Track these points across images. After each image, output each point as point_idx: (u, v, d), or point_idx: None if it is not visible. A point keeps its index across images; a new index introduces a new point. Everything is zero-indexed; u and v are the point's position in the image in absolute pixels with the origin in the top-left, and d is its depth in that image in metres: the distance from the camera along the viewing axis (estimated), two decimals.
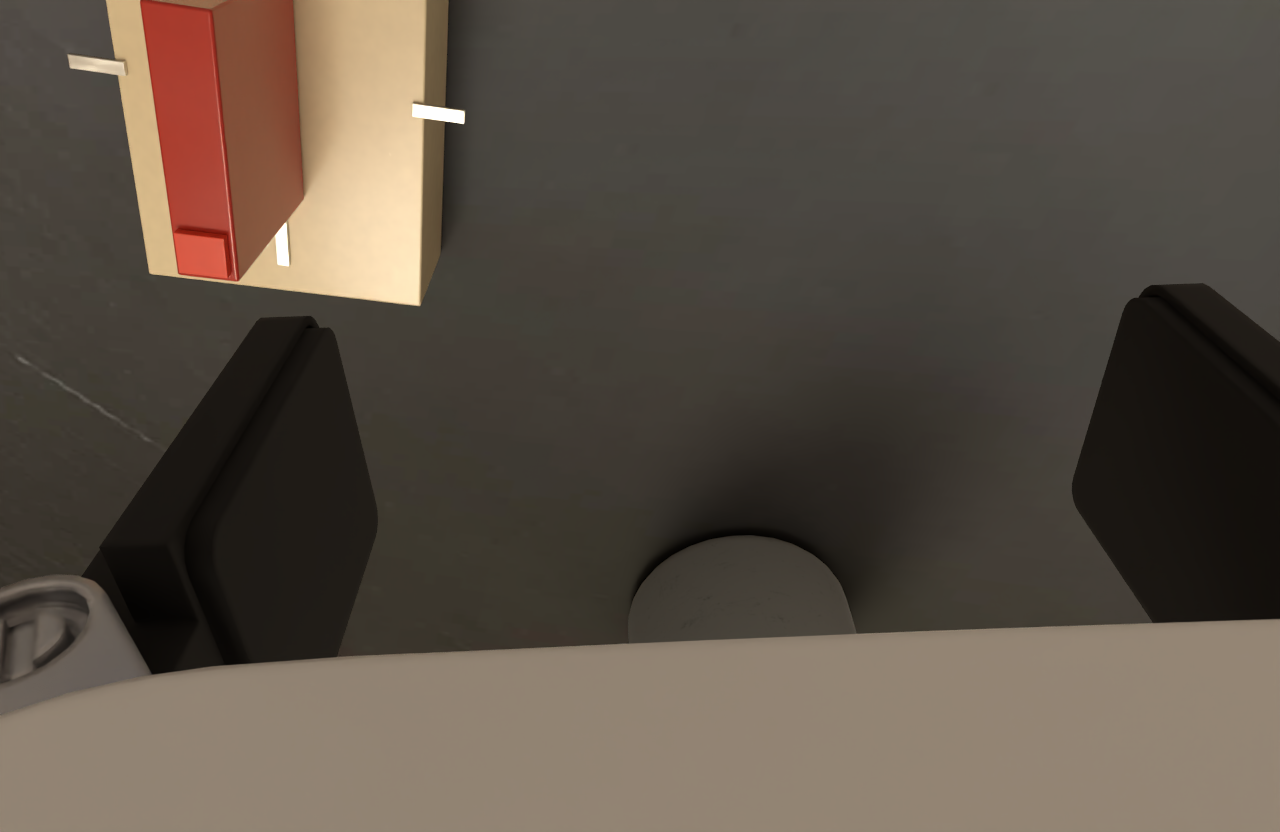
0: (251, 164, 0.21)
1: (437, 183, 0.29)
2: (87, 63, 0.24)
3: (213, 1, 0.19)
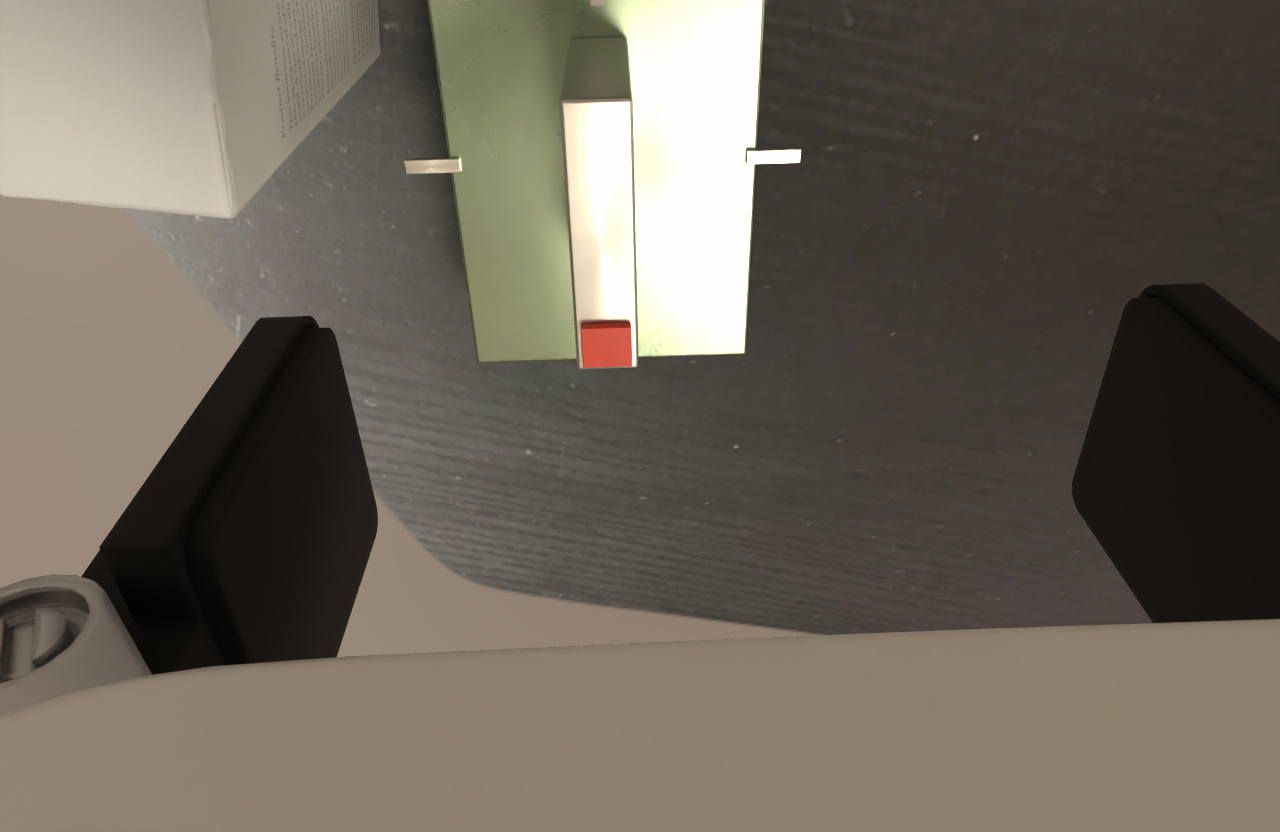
0: None
1: None
2: None
3: None
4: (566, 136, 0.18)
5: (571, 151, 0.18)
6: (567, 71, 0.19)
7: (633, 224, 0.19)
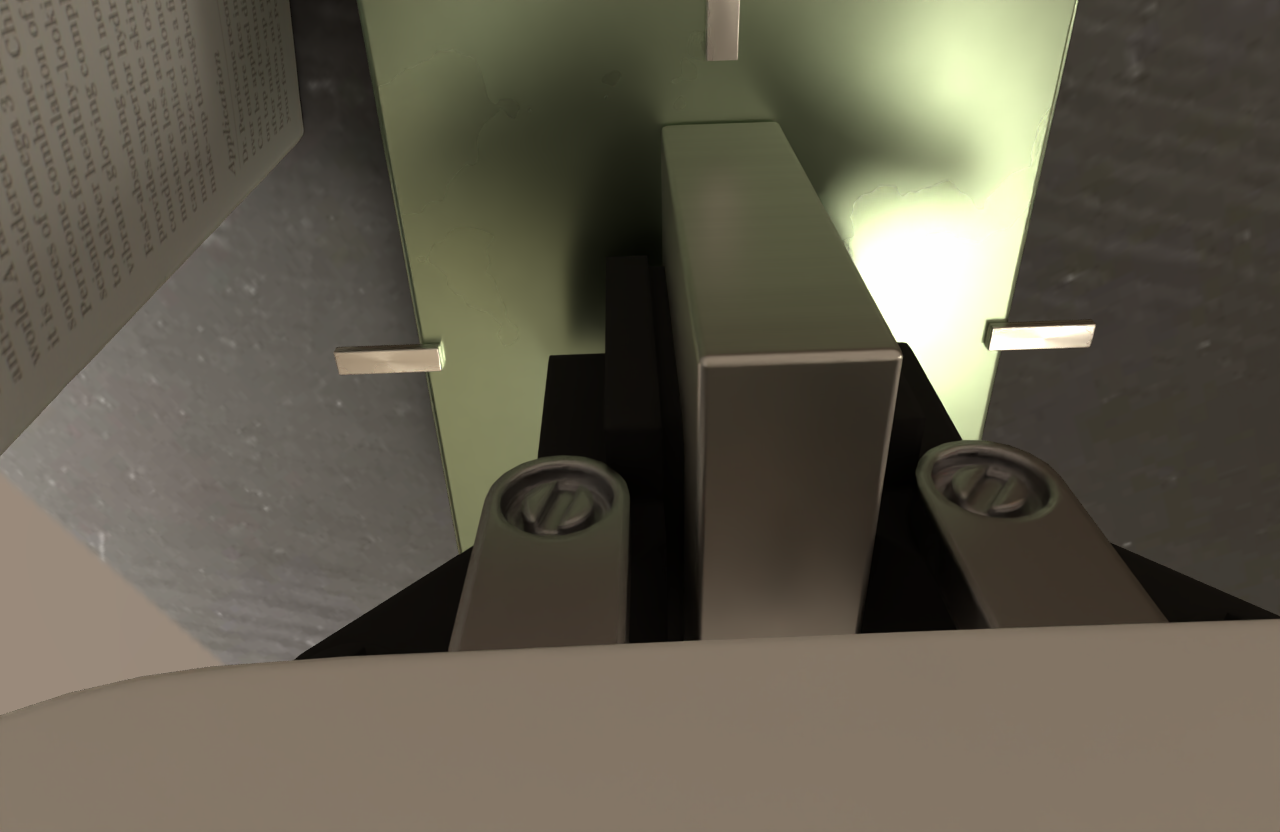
0: None
1: None
2: None
3: None
4: (711, 444, 0.06)
5: (721, 476, 0.07)
6: (686, 232, 0.08)
7: (859, 619, 0.07)
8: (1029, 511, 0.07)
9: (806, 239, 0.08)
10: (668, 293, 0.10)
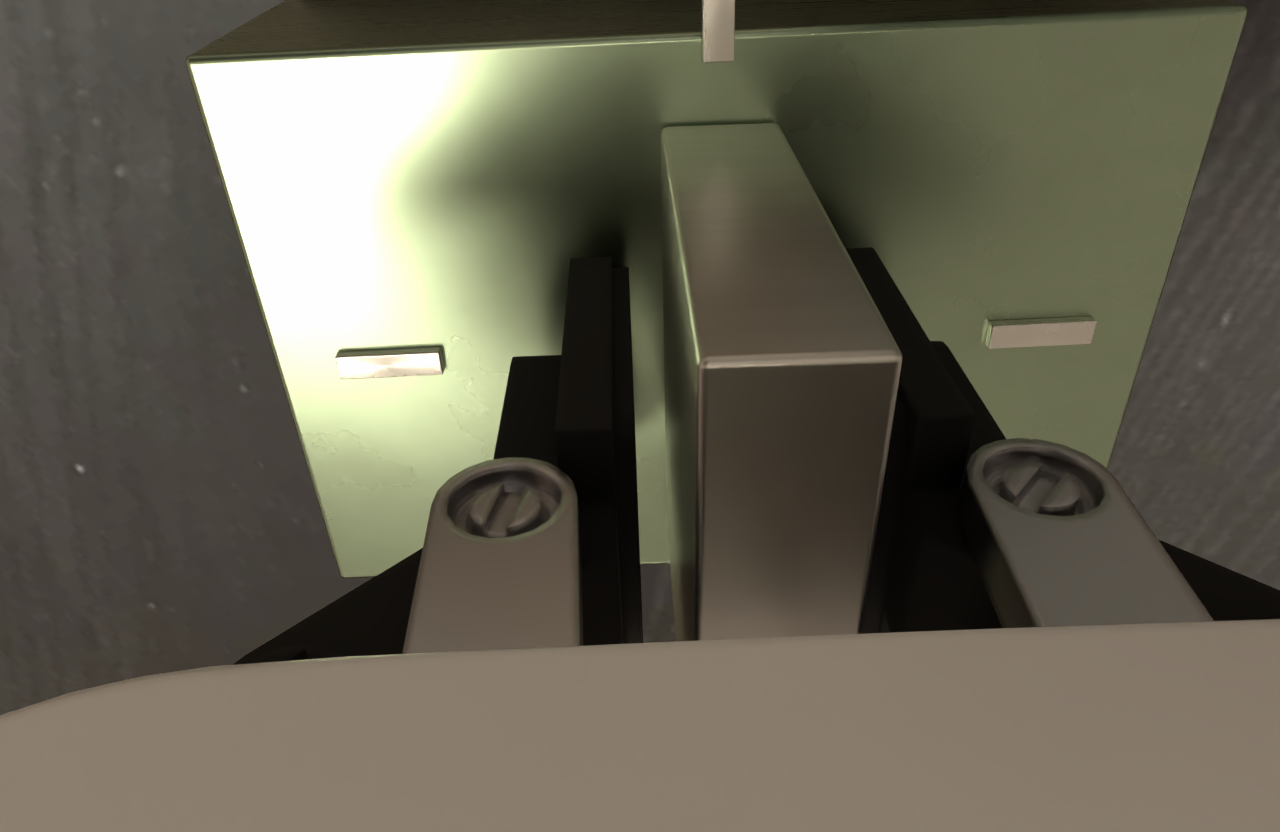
0: None
1: None
2: None
3: None
4: (710, 445, 0.06)
5: (721, 476, 0.07)
6: (686, 233, 0.08)
7: (858, 620, 0.07)
8: (1081, 511, 0.07)
9: (805, 240, 0.08)
10: (668, 294, 0.10)
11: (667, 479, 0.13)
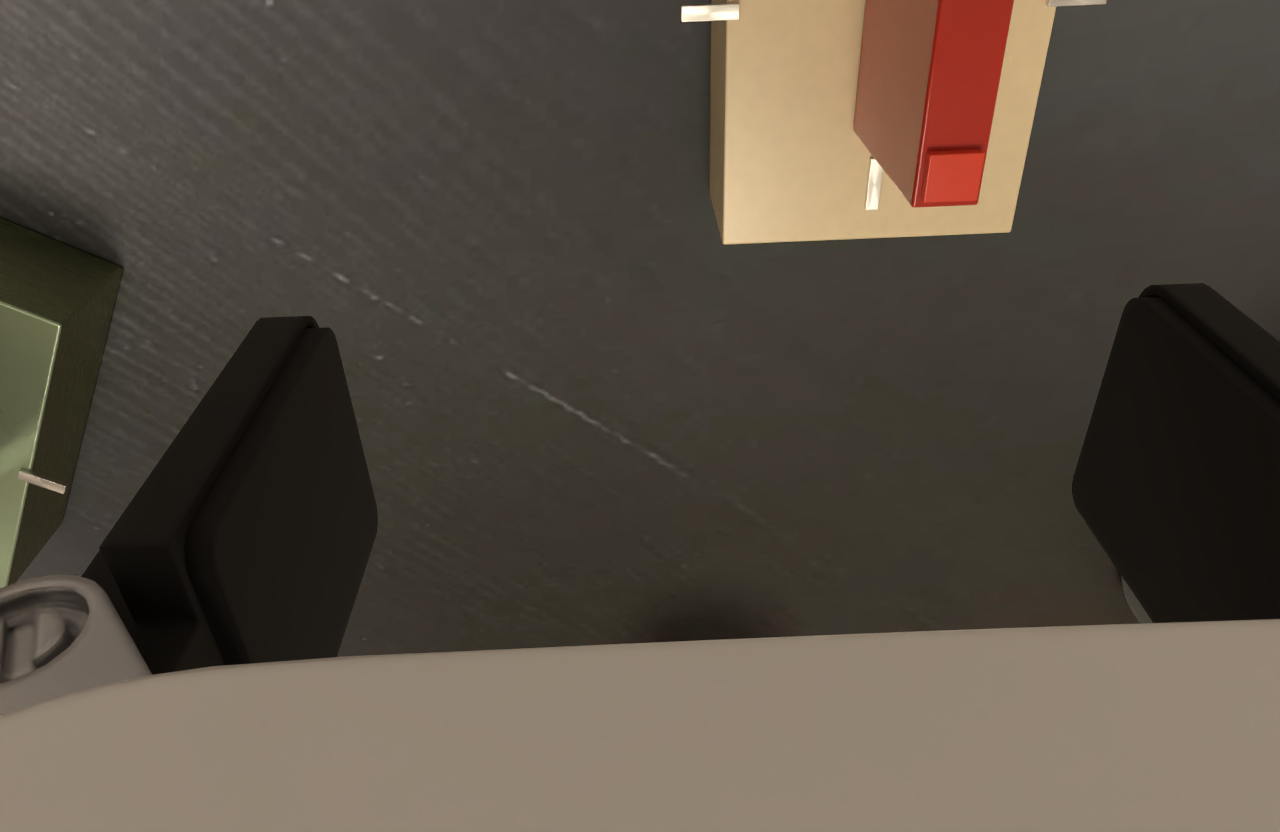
0: None
1: None
2: (697, 14, 0.22)
3: None
4: None
5: None
6: None
7: None
8: None
9: None
10: None
11: None
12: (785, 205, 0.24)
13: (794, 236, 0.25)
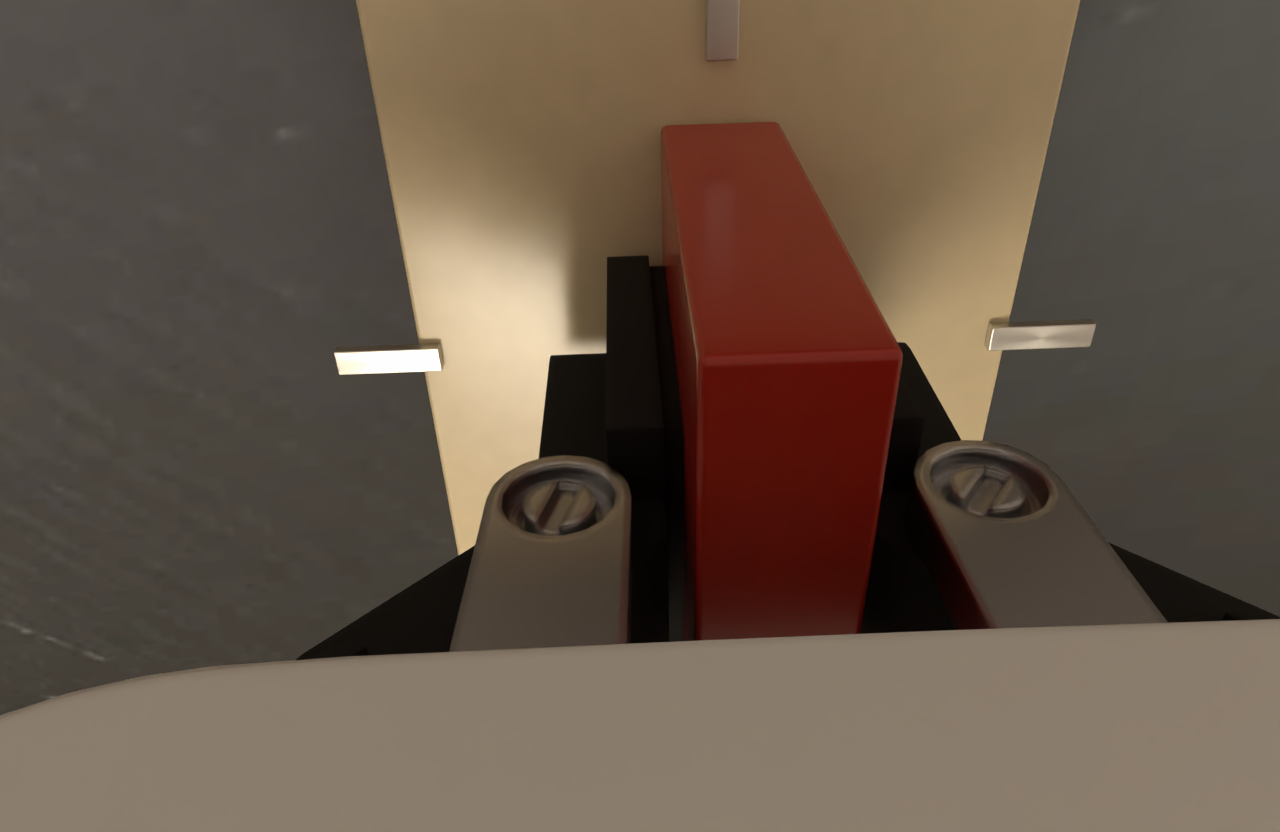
0: None
1: None
2: (368, 360, 0.12)
3: (847, 301, 0.07)
4: None
5: None
6: None
7: None
8: (1028, 511, 0.07)
9: None
10: None
11: None
12: None
13: None
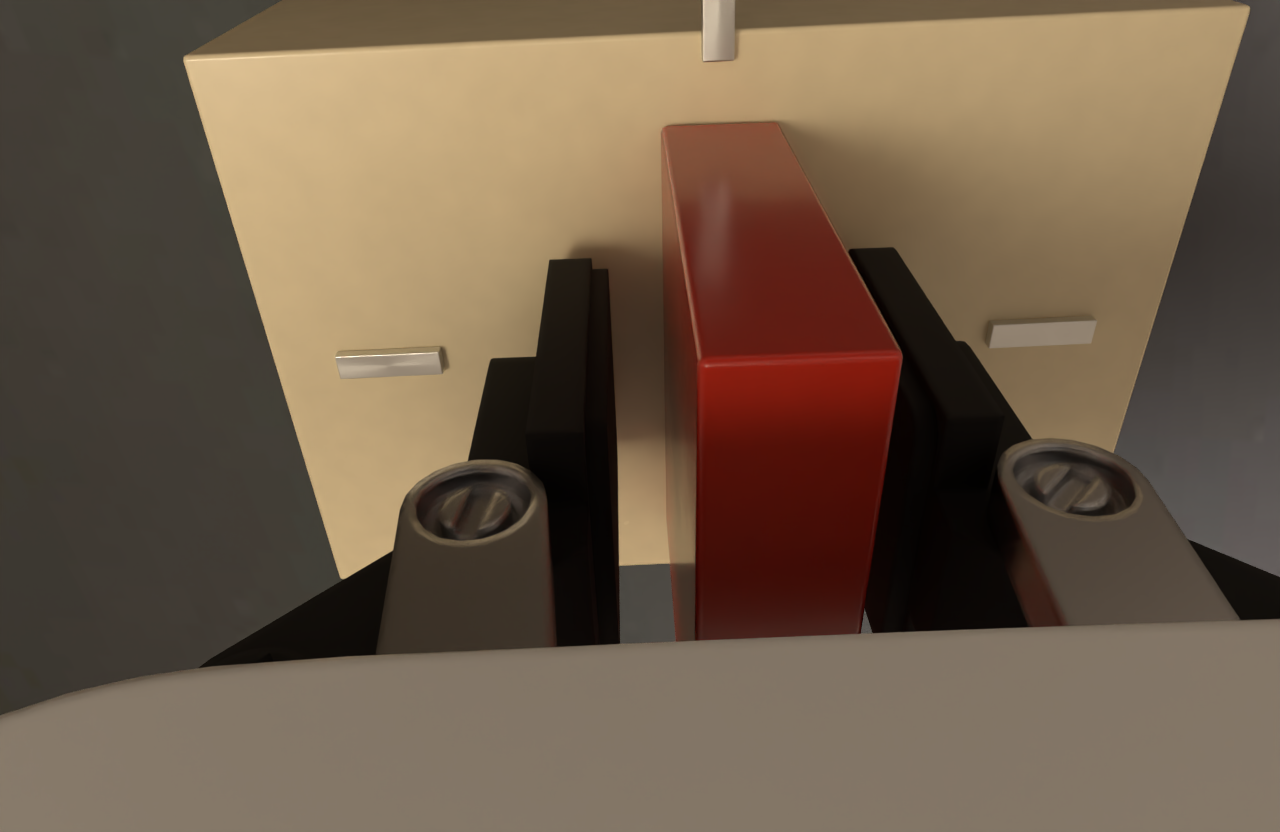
0: None
1: None
2: None
3: (847, 301, 0.07)
4: None
5: None
6: None
7: None
8: (1112, 512, 0.07)
9: None
10: None
11: None
12: (311, 196, 0.11)
13: (244, 223, 0.11)
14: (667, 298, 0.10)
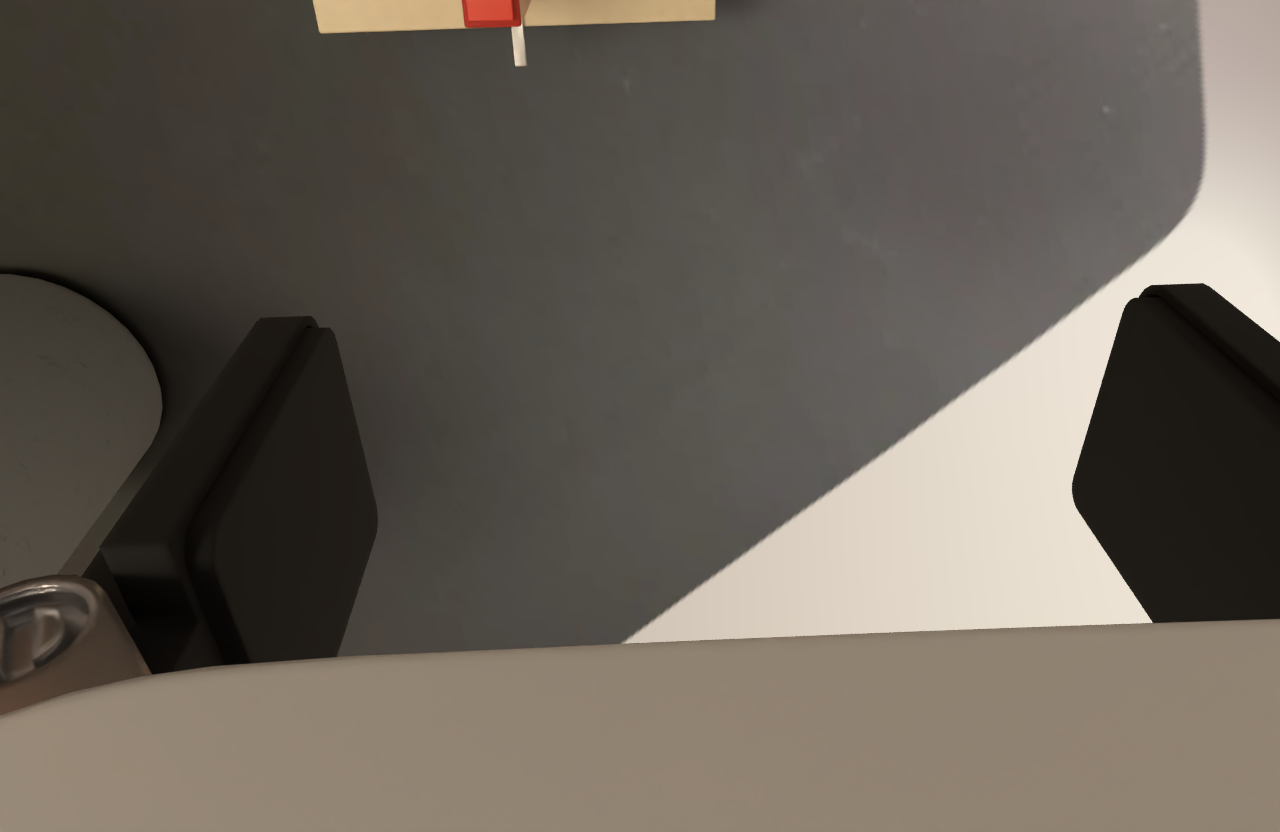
0: None
1: None
2: None
3: None
4: None
5: None
6: None
7: None
8: None
9: None
10: None
11: None
12: None
13: None
14: None
